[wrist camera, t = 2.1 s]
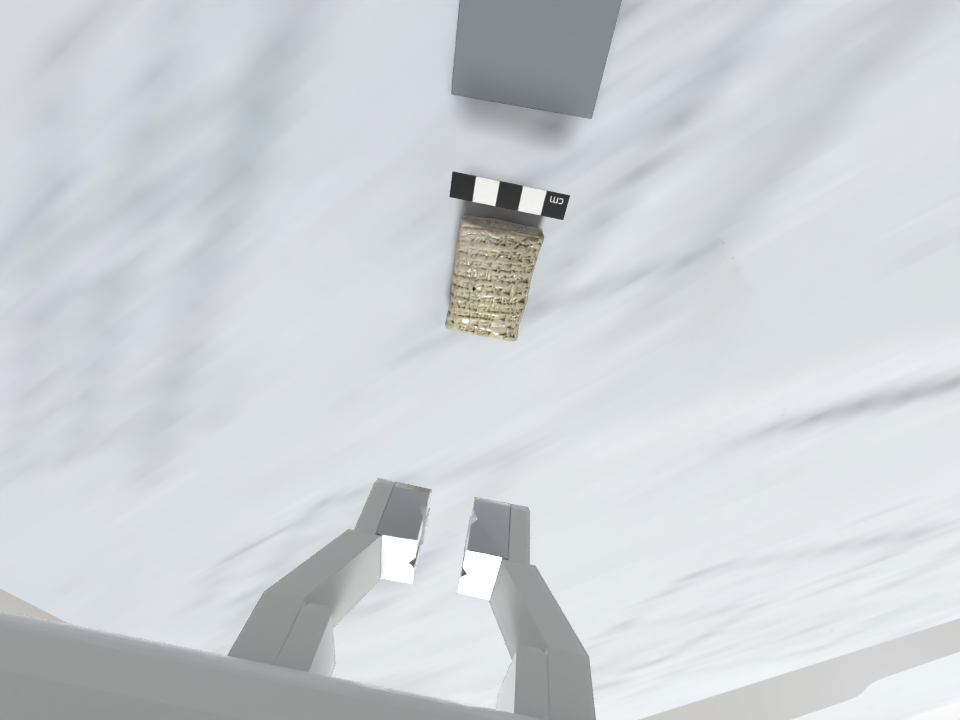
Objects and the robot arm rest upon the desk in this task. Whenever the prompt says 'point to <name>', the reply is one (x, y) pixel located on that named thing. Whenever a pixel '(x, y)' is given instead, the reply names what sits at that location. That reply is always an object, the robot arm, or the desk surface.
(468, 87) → the felt pad
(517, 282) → the cuneiform tablet
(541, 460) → the desk surface
